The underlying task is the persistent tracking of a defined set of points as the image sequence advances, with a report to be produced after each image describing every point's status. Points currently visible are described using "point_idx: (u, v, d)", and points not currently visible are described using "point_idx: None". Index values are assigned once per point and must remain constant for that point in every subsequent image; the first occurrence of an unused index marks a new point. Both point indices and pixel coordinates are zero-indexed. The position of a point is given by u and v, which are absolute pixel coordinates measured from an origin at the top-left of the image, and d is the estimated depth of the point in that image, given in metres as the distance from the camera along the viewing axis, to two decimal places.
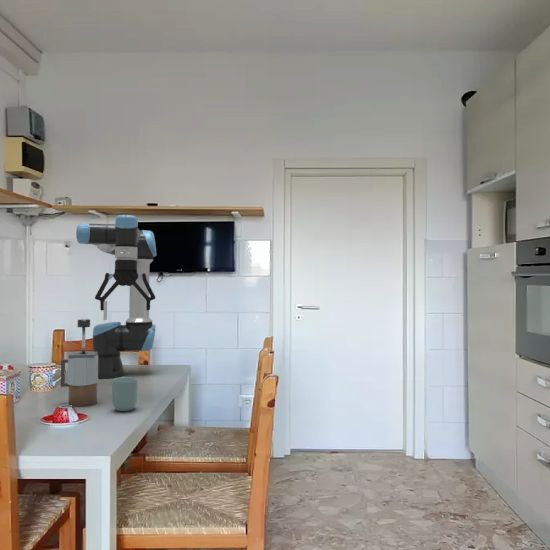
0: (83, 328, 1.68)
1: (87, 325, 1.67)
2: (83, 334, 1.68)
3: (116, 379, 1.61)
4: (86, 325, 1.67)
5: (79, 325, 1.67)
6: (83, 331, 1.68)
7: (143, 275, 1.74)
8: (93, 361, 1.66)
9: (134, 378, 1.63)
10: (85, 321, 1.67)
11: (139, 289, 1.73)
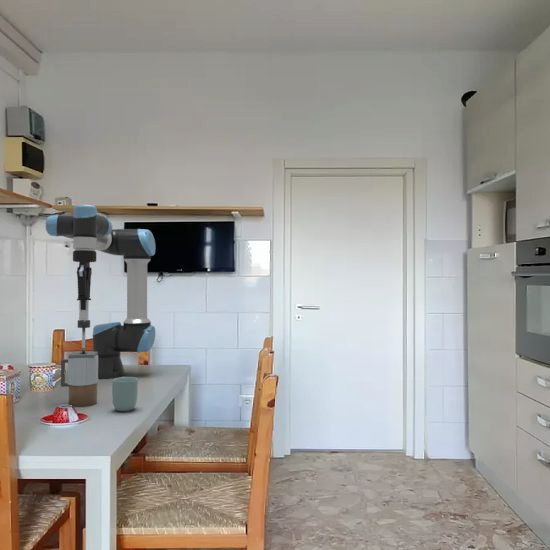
0: (83, 329, 1.68)
1: (87, 326, 1.67)
2: (83, 335, 1.68)
3: (116, 379, 1.61)
4: (86, 326, 1.67)
5: (79, 326, 1.67)
6: (83, 332, 1.68)
7: None
8: (93, 361, 1.66)
9: (134, 378, 1.63)
10: (85, 322, 1.67)
11: None
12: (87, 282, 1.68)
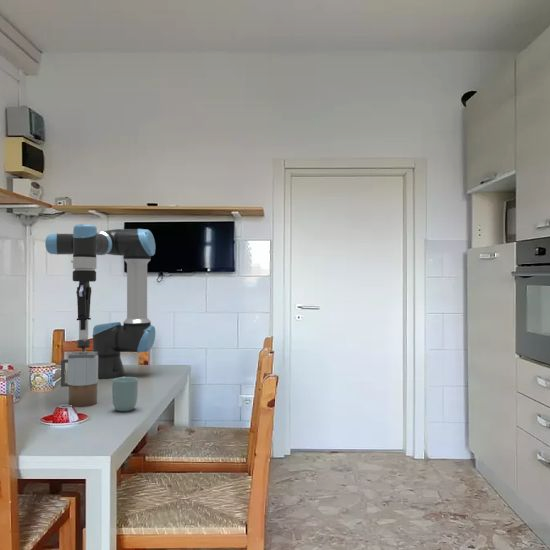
0: (83, 348, 1.68)
1: (87, 345, 1.67)
2: None
3: (116, 379, 1.61)
4: (86, 345, 1.67)
5: (79, 345, 1.66)
6: (83, 351, 1.68)
7: None
8: (93, 361, 1.66)
9: (134, 378, 1.63)
10: (85, 341, 1.67)
11: None
12: (87, 302, 1.68)
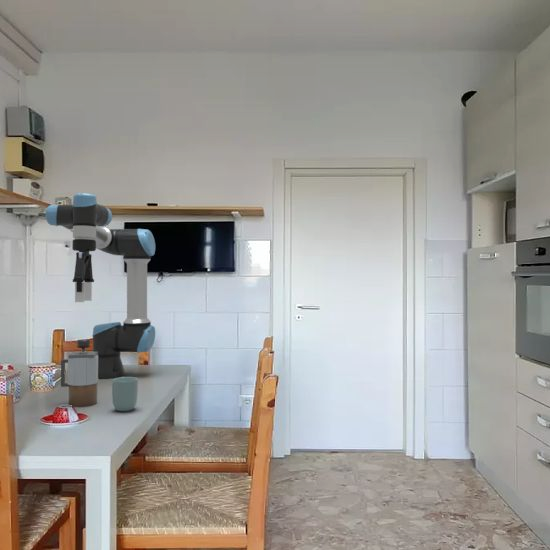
0: (83, 348, 1.68)
1: (87, 345, 1.67)
2: None
3: (116, 379, 1.61)
4: (86, 345, 1.67)
5: (79, 345, 1.66)
6: (83, 351, 1.68)
7: None
8: (93, 361, 1.66)
9: (134, 378, 1.63)
10: (85, 341, 1.67)
11: None
12: (85, 268, 1.65)
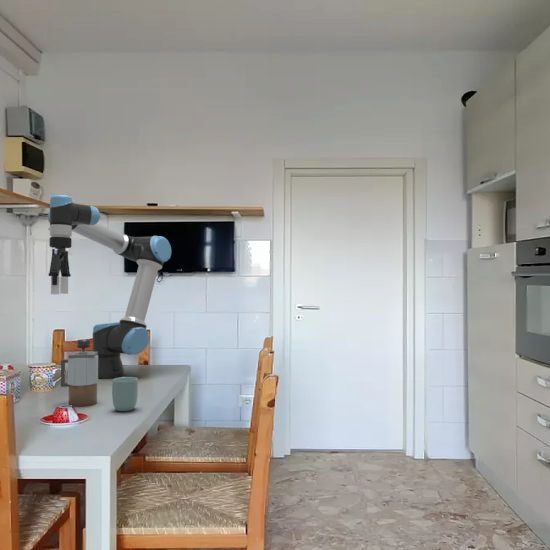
0: (83, 348, 1.68)
1: (87, 345, 1.67)
2: None
3: (116, 379, 1.61)
4: (86, 345, 1.67)
5: (79, 345, 1.66)
6: (83, 351, 1.68)
7: None
8: (93, 361, 1.66)
9: (134, 378, 1.63)
10: (85, 341, 1.67)
11: None
12: (61, 263, 1.81)
